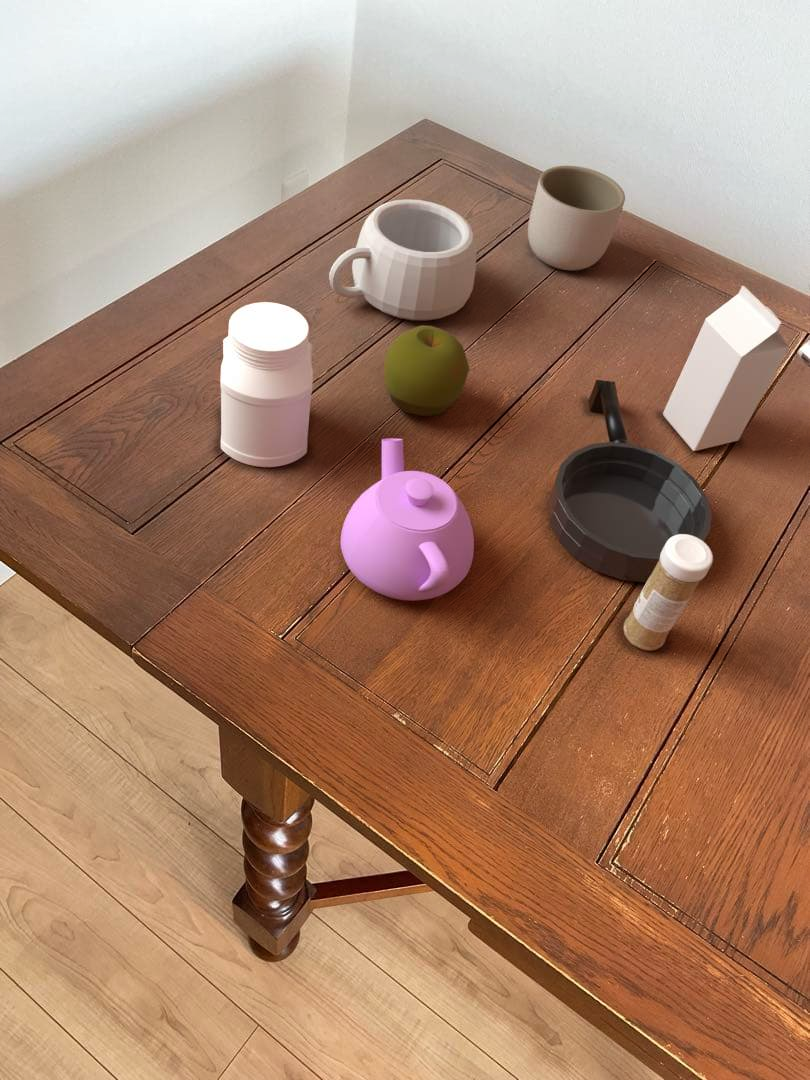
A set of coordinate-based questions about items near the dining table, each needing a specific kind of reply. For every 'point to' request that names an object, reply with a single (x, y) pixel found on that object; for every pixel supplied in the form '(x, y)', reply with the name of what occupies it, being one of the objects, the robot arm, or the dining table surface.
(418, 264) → the mug
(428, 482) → the teapot
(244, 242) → the dining table surface
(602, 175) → the planter
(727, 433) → the milk carton
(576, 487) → the pan
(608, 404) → the pan handle
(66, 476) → the dining table surface
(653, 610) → the spice bottle
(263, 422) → the jar
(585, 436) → the dining table surface
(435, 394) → the apple
